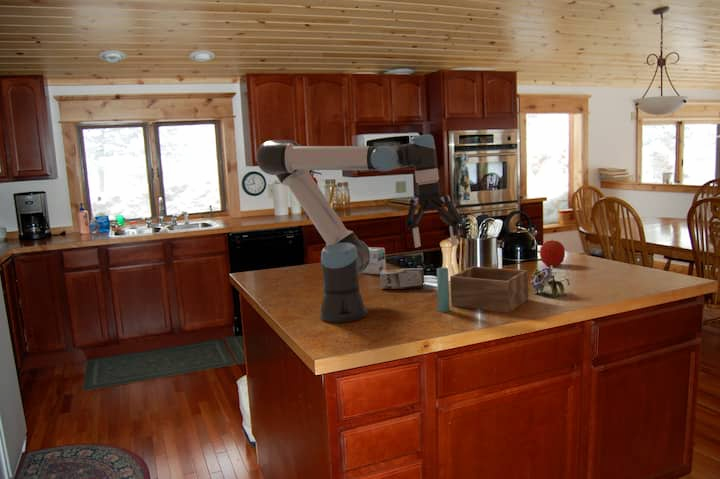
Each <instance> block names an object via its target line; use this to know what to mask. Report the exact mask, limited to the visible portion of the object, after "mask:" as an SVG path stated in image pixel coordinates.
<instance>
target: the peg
mask: <svg viewBox="0 0 720 479" xmlns="http://www.w3.org/2000/svg"><path fill="white" fill-rule="evenodd" d="M436 282H437V302H438V303H437V304H438V305H437V307H438V312H440V313H448V312H450V311H451V310H450V309H451V306H450V286H449V285H450V283H449V282H450V281H449V268H448V267H437V268H436Z"/></svg>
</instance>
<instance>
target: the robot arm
mask: <svg viewBox="0 0 720 479" xmlns="http://www.w3.org/2000/svg"><path fill="white" fill-rule="evenodd" d="M436 150H437V149H436V144H435V138H434V136H433V135H432V134H422V135H416V136H415V135H414V136H412V137H411V138H410V142H408V143H405V144H397V145H371V146H370V145H330V146H329V145H325V146H324V145H315V146H313V145H306V146H305V145H301V144H299V143H297V142H296V141H293V140H290V139H280V140H279V139H271V140H267V141H265V142H262V144H261V145H260V146H258V149H257V152H256V157H255V159H256V164H257V166H258V168H259V169H260V171H262V173H263V172H264V173H265V174H267V175H271V176H276V178H277V179H278V181H279V182H280V184H281V185H282V186H287V187H288V188H289V189H290V191H291V192H292V193H293V195H294V198H296V200H297V202H298V203H299V204H300V206H301V208H302V209H303V210H304V212H305V213H306V215H307V217H308V218H309V219H310V221H311V222H312V224H313V225H314V227H315V228H316V230H317V232H318V233H319V234H320V236H321V238H322V239H323V240H324V242H325V246H324V247H323V248H322V250H321V254H320V255H321V256H320V263H321V271H322V272H321V273H322V284H323V299H322V303H321V308H320V311H319V312H320V313H319V315H320V319H321V320H322V321H323V322H329V323H349V322H354V321H359V320H360V319H364V318H365V317H366V316H367V308H366V305H365V304H364V300H363V297H362V295H361V293H360V292H361V291H360V278H359V275H360V274H362V273H361V272H363V271H364V270H365V269H366V268H367V266H368V264H369V262H370V250H369V248H370V247H369V246H368V245H367V244H366V243H365V242H364V241H362V239H359V238H358V236H357V235H356V233H355V232H354V231H353V230H349V229H347V228H346V227H345V225H344V223H343V222H342V220H341V219H340V217H339V216H338V214H337V213H336V211H335V210H334V208H333V207H332V205H331V204H330V202H329V201H328V200H327V198H326V196H325V195H324V193H323V191H321V189H320V187H319V185H318V184H317V182H316V181H315V180H314V178H313V176H312V175H311V173H310V171H371V172H372V171H380V172H390V171H393V170H397V169H402V168H411V167H414V176H415V183H417V184H416V192H417V197H418V198H411V199H410V200H409V209H408V212H407V215H406V219H405V221H404V227H406V228H409V229H410V234H411V238H412V239H413V243H414V248H419V247H421V246H422V245H421V238H420V236H421V235H420V231H419V230H420V229H419V227H418V223H419V222H420V220H421V219H422V217H423V215H424V214H425V212H430V211H432V212H434V211H437V212H439V214H440V215H441V216H443V218H444V219H445V220H446V221H447V222H448V223H449V224H450V226H448V227H449V234H450V241H451V247H455V246H457V245H458V239H457V236H458V235H459V226H458V225H459V224H461V223H463V222H464V221H463V218H462V217H461V215H460V213H459V211H458V209H457V208H456V207H455V205H454V203H453V202H452V197H451V196H450V195H449V194H448V195H447V194H446V195H445V196H442V195H441V193H442V192H441V185H440V181H439V180H440V175H439V169H438V168H439V167H438V160H437V158H438V157H437V151H436ZM442 203H445V206H444V205H443V204H442ZM418 204H419V208H418V211H417V213H416V210H417V207H418ZM445 207H446V208H447V209H448V210H447V209H446V208H445ZM449 212H450V213H449ZM368 247H369V248H368Z"/></svg>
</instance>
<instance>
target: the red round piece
mask: <svg viewBox="0 0 720 479" xmlns="http://www.w3.org/2000/svg"><path fill="white" fill-rule="evenodd" d="M539 249H540V250H539V257H540V260H541V262H542V263H543V264H544V265H545V266H546V267H547V268H549V267H550V266H551V265H553V268H554V267H558V266H559V265H561V264H562V263H564V260H565V256H566V251H565V250H566V248H565V246H564V245H563V243H561V242H560V241H558V240H553V239H550V240H547V241H545V242H543V243H542V245H541V246H540V248H539Z"/></svg>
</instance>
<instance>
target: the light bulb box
mask: <svg viewBox="0 0 720 479" xmlns="http://www.w3.org/2000/svg"><path fill="white" fill-rule="evenodd" d="M368 248H369V250H370V262H369V264H368V266H367V268H366V269H365V270H364V271H363V272H361V273H360V274H368V275H369V274H370V275H371V274H372V275H380V273H381V272H382V271H383V269H387V264H386V249H385V247H369V246H368Z"/></svg>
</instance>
